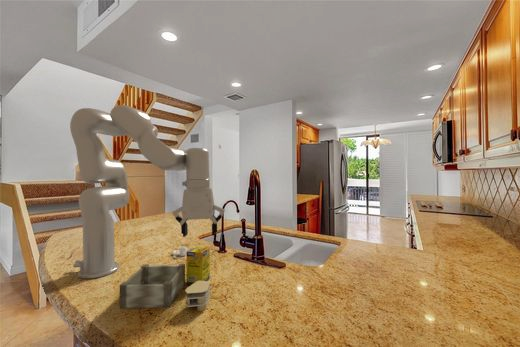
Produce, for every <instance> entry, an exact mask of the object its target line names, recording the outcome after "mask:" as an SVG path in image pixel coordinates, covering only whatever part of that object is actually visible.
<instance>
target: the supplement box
mask: <svg viewBox="0 0 520 347" xmlns="http://www.w3.org/2000/svg"><path fill="white" fill-rule="evenodd" d="M210 247H211V246H202V245H201V246H200V245H194V246H193V247H192V248H190V249H189V250H188V249H187V250H188V251H187V250H186V255H185V257H186V258H185V260H186V263H185V274H186V285H190V286H191V285H192V284H194V283H195V282H197V281H209V279H210V277H211V273H210V272H211V270H210V269H211V266H210V264H211V260H210V259H211V254H210V251H211V250H210V249H211V248H210Z"/></svg>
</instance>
